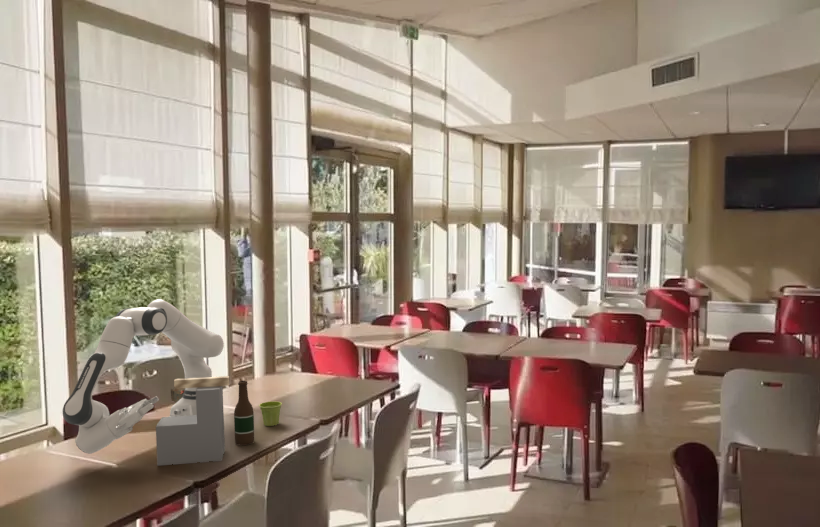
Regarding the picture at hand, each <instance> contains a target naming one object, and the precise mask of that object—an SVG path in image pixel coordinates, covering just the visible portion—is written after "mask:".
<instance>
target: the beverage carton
mask: <svg viewBox="0 0 820 527" xmlns="http://www.w3.org/2000/svg"><path fill="white" fill-rule="evenodd" d="M184 389H186V388H179V389H174V388H170V398H171V399H170V400H171V402H175V403H177V402H178V401H179V400H180V399H181V398H182V396H183V393H182V392H180V391H183V390H184ZM180 393H182V394H180Z"/></svg>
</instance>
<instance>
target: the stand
mask: <svg viewBox="0 0 820 527" xmlns="http://www.w3.org/2000/svg"><path fill="white" fill-rule="evenodd" d="M223 389H224V386H214V387H198V388H197V389H196V410H197V415H190V416H175V417H169V416H162V417H161V418H160V420H158V422H157V424H156V426H155V440H156V442H155V443H156V465H157V466H169V465H172V464H173V465H183V464H184V465H185V464H186V465H187V464H196V463H197V462H200V463H210V462H209V461H213V462H222V461H223V457H224V455H223V454H225V451H226V448H225V447H226V445H225V444H226V443H225V441H226V440H225V421H224V420H225V419H224V418H225V416H224V415H225V414H224V413H225V412H224V392H223V391H224V390H223Z"/></svg>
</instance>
